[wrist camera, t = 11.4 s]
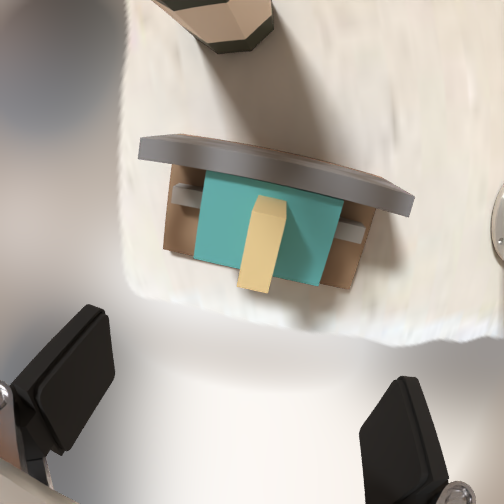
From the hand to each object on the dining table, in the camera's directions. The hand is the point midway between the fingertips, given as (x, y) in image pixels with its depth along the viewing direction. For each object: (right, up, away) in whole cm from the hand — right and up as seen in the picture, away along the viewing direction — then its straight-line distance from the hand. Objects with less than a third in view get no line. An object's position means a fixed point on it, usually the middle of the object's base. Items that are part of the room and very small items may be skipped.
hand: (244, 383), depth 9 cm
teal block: (+2, +8, +20) cm, 22 cm away
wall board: (+2, +8, +22) cm, 23 cm away
